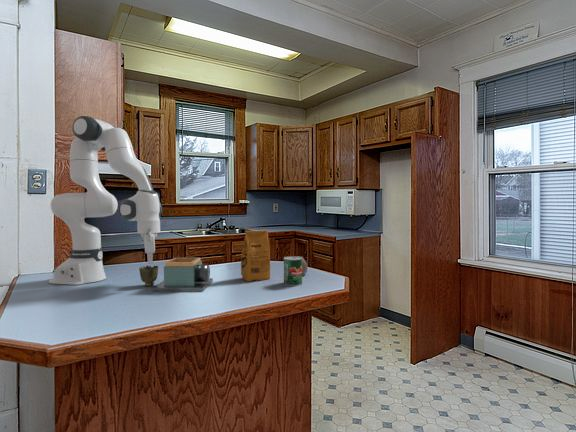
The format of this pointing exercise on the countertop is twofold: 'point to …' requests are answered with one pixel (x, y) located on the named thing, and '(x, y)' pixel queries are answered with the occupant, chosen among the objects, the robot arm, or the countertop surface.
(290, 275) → the canned tomato
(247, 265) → the coffee package
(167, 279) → the motor mount
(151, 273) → the cup
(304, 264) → the vase
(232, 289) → the countertop surface
